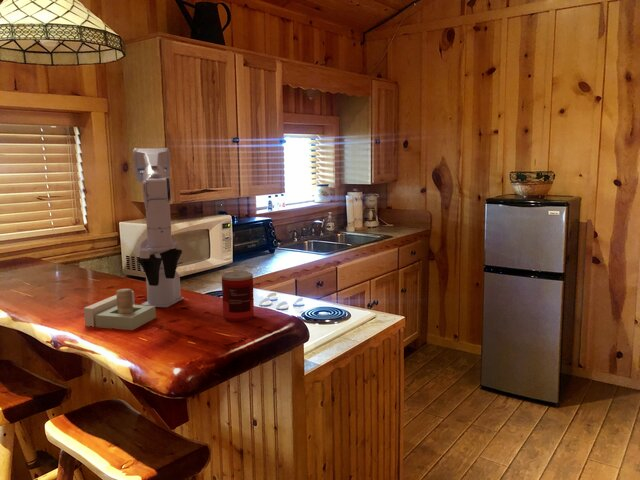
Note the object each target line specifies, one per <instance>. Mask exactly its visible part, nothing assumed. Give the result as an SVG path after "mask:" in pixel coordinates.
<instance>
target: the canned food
mask: <svg viewBox="0 0 640 480" xmlns="http://www.w3.org/2000/svg"><path fill="white" fill-rule="evenodd" d="M221 295H222V296H221V297H222V313H223V314H222V315H223V318H224V319H225V321H228V320H229V321H230V322H234V321H239V322H246V321H250V320H252V319H253V318H254V314H255V309H254V308H255V303H254V301H255V299H254V276H253V273H251V272H249V271H243V270H241V271H237V270H235V271H230V272H229V271H228V272H224V273H222V275H221ZM249 319H250V320H249ZM229 321H228V322H229Z"/></svg>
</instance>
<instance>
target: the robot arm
mask: <svg viewBox="0 0 640 480" xmlns="http://www.w3.org/2000/svg"><path fill="white" fill-rule="evenodd" d="M170 153H171V152H170V150H169V149H168V147H164V148H162V147H161V148H137V147H134V149H132V158H133V160H132V161H133V169H134V176H135V178H136V179H135V180H136V181H137V182H139V183H141V184H142V185H141V186H142V199H143V202H144V209H145V218H146V219H145V220H146V223H145V224H146V236H147V237H146V238H145V239H143V240H142V241H141V242H140V244H139V256H138V257H137V262H138V263H139V265H140V271H142V272H143V273H145V282H146V295H147V296H146V297H147V298H146V299H147V301H144V302H143V303H141V304H140V305H146V306H155V308H169V307H171V306H172V305H174V304H176V303H178V302H180V301H182V300H184V298H185V297H183V296H182V295H181V294H182V293H181V278H180V275H179V273H178V271H177V269H178V267H179V260H180V257H181V255H182V254H183V250H182V249H179V248H180V245H179V240H174V239H173V238H172V237H173V236H172V221H171V201H172V184H171V180H170V175H171V154H170Z"/></svg>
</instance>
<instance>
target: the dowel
mask: <svg viewBox="0 0 640 480" xmlns="http://www.w3.org/2000/svg"><path fill="white" fill-rule="evenodd" d="M132 291H133V289H131V288H120V289H117V290H115V295H116V296H117V311H118V314H131V313H133V301H132Z"/></svg>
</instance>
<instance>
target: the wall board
mask: <svg viewBox="0 0 640 480" xmlns="http://www.w3.org/2000/svg"><path fill="white" fill-rule="evenodd" d="M132 301H133V305H136V304H135V290H134V291H133V290H132ZM114 306H117V296H116V294H115V295H113V296H109V297H107V298H105V299H102V300H100V301H98V302H95V303H92V304H90V305H87V306H85V307H84V308H83V317H84V326H85V327H90V326H92V327H91V328H93V327H94V326H95V327H96V321H95V315H96V314H99V313H101V312H103V311H105V310H108V309H110V308H112V307H114ZM95 327H94V328H95Z"/></svg>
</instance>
